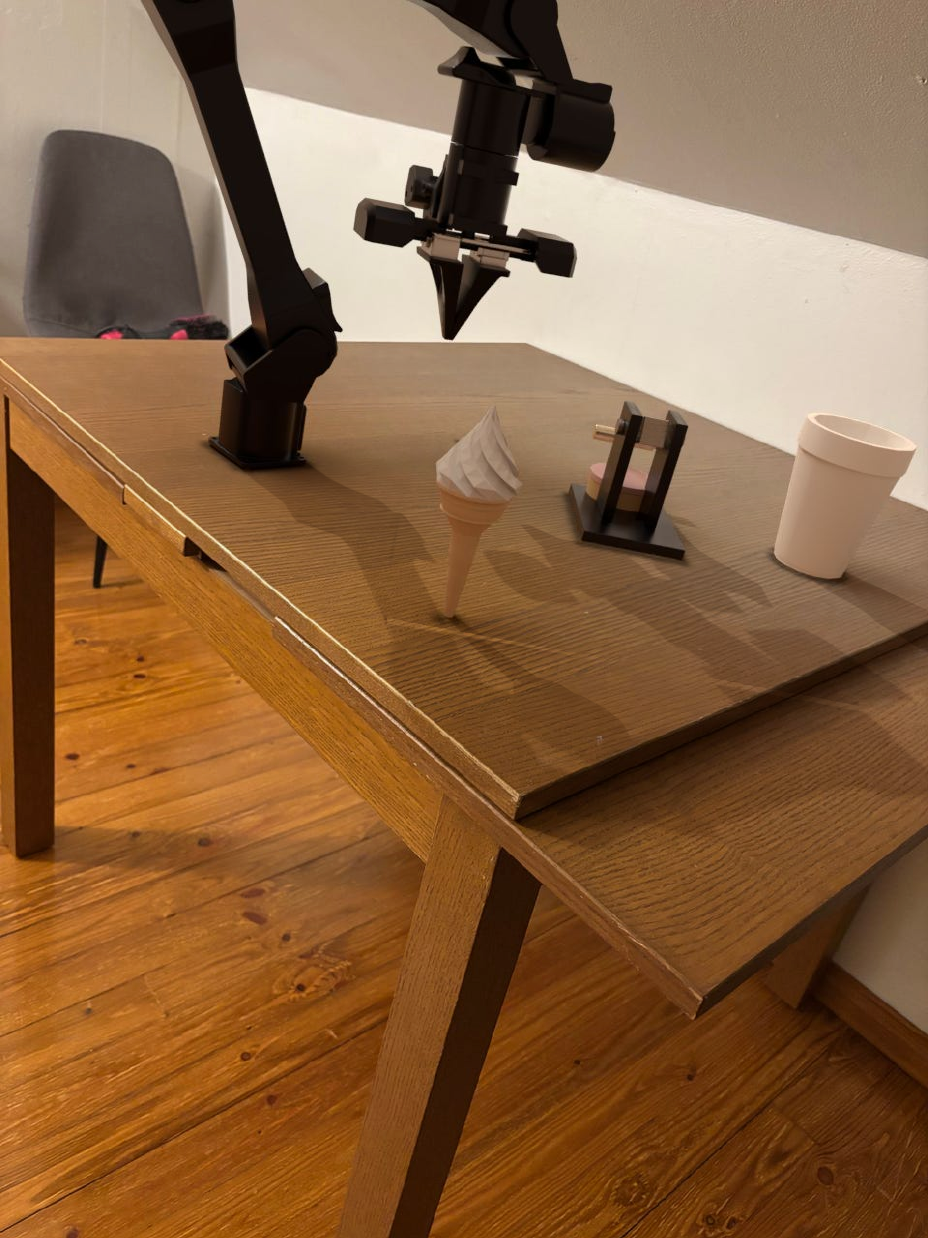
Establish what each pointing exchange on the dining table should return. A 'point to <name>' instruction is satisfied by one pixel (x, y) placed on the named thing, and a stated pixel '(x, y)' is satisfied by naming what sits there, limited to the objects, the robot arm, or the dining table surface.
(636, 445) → the lever
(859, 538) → the foam cup
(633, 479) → the cake
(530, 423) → the dining table surface
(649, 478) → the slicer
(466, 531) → the ice cream cone
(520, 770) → the dining table surface
